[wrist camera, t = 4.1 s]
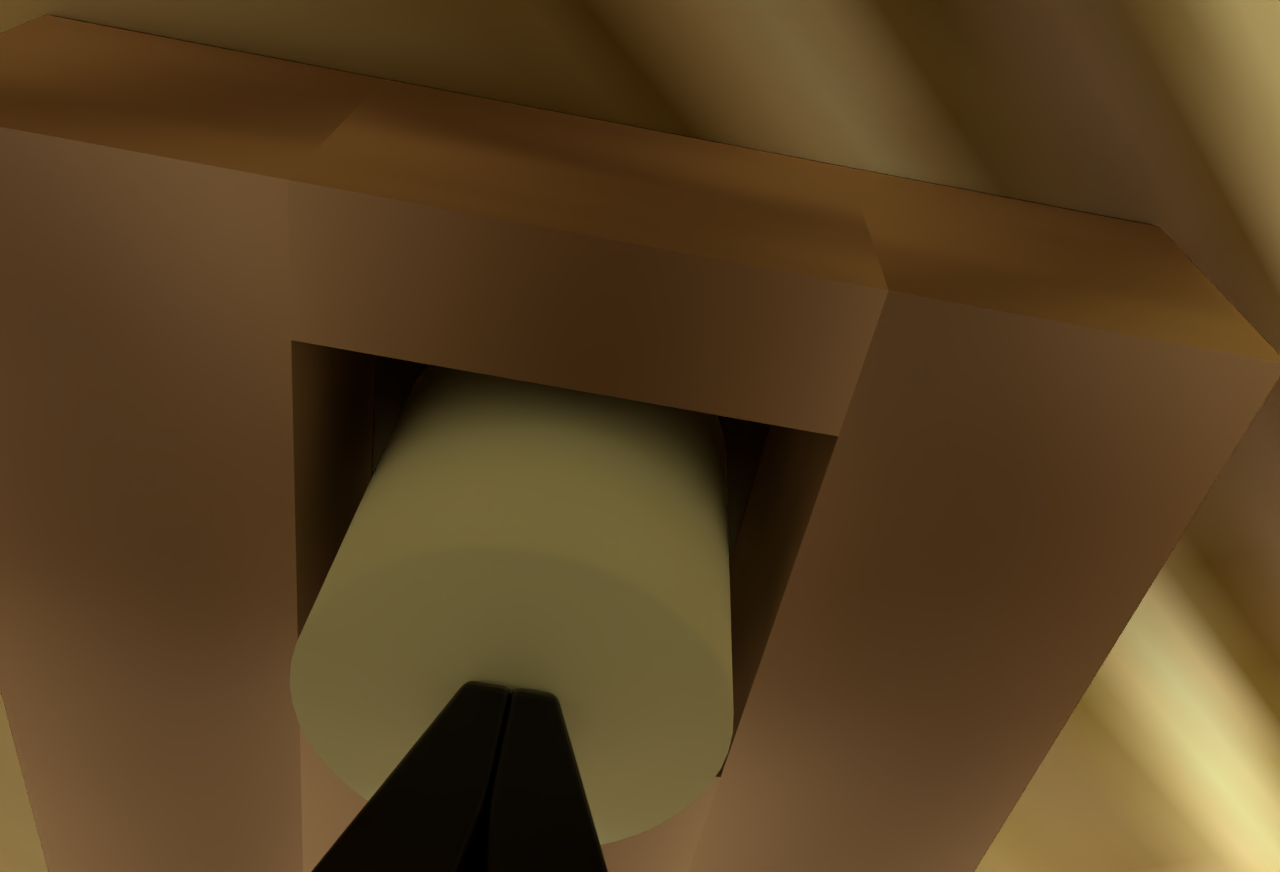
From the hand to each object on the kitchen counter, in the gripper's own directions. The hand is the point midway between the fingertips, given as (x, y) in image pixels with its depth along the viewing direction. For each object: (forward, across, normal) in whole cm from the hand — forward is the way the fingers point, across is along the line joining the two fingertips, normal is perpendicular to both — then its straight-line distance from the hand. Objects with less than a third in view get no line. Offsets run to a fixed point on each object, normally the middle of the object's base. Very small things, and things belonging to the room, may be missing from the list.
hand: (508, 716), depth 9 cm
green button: (+4, 0, 0) cm, 4 cm away
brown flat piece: (+5, 0, +8) cm, 10 cm away
